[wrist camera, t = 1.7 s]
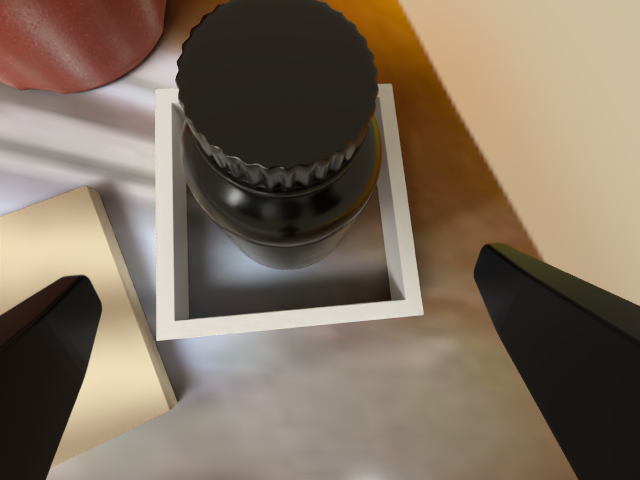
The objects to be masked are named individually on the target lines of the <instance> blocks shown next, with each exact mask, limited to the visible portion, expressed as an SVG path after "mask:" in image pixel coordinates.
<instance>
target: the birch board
mask: <svg viewBox="0 0 640 480" xmlns="http://www.w3.org/2000/svg"><path fill="white" fill-rule="evenodd" d="M70 275H86V276H87V277H88V278H89V279H90V281H91V283H92V284H93V286H94V288H95V290H96V292H97V294H98V296H99V298H100V300H101V303H102V314H101V318H100V322H99V326H98V329H97V333H96V337H95V341H94V345H93V349H92V353H91V357H90V360H89V364H88V368H87V371H86V375H85V378H84V381H83V384H82V386H81V389H80V392H79V394H78V397H77V400H76V402H75V405H74V407H73V410H72V413H71V415H70V418H69V420H68V423H67V426H66V428H65V431H64V433H63V436H62V439H61V441H60V444H59V447H58V449H57V452H56V454H55V457H54V460H53V462H52V465H51V467H50V468H52V467H54V466H56V465H58V464H60V463H62V462H64V461H66V460H68V459H70V458H72V457H74V456H76V455H78V454H80V453H82V452H85V451H87V450H89V449H91V448H93V447H95V446H97V445H99V444H101V443H103V442H105V441H107V440H109V439H111V438H113V437H116V436H118V435H120V434H122V433H124V432H126V431H128V430H130V429H132V428H134V427H136V426H138V425H140V424H142V423H144V422H146V421H149V420H151V419H153V418H155V417H157V416H159V415H161V414H163V413H165V412H167V411H169V410H171V409H172V408H173V407H174V406H175V405H176V404H177V403H178V402H177V400H176V397H175V394H174V392H173V389H172V386H171V384H170V381H169V378H168V376H167V373H166V370H165V368H164V365H163V362H162V360H161V357H160V354H159V352H158V349H157V346H156V344H155V341H154V338H153V336H152V333H151V330H150V328H149V325H148V322H147V320H146V317H145V314H144V312H143V309H142V306H141V304H140V301H139V298H138V296H137V293H136V291H135V288H134V285H133V283H132V280H131V277H130V275H129V272H128V269H127V267H126V264H125V261H124V259H123V256H122V253H121V251H120V248H119V245H118V243H117V240H116V237H115V235H114V232H113V229H112V227H111V224H110V221H109V219H108V216H107V213H106V211H105V208H104V205H103V203H102V200H101V197H100V195H99V193H98V192H97V191H95V190H93V189H91V188H90V187H88V186H84V187H81V188H78V189H75V190H73V191H70V192H67V193H64V194H62V195H59V196H56V197H53V198H51V199H48V200H45V201H42V202H40V203H37V204H34V205H31V206H29V207H26V208H23V209H20V210H18V211H15V212H12V213H9V214H7V215H4V216H1V217H0V315H1V314H3V313H5V312H6V311H8V310H9V309H11V308H13V307H14V306H16V305H17V304H19V303H21V302H22V301H24V300H26V299H27V298H29V297H30V296H32V295H34V294H35V293H37V292H38V291H40V290H42V289H43V288H45V287H47V286H48V285H50V284H51V283H53V282H55V281H56V280H58V279H60V278H61V277H64V276H70Z"/></svg>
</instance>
